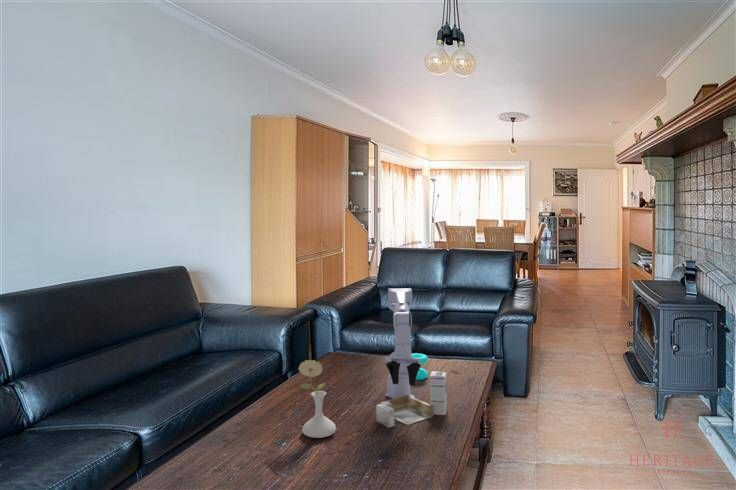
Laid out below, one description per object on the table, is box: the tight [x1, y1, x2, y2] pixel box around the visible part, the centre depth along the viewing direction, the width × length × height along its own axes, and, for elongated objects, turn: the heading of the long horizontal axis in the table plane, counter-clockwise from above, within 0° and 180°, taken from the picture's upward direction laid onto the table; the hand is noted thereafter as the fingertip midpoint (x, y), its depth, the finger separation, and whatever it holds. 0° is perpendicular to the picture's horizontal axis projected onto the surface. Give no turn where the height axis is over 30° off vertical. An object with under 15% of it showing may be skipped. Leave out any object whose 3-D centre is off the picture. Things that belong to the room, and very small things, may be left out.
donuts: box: [411, 352, 429, 381], centre depth 221 cm, size 10×10×10 cm
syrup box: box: [429, 370, 448, 416], centre depth 181 cm, size 6×6×14 cm
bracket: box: [375, 402, 396, 429], centre depth 172 cm, size 7×5×6 cm
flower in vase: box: [297, 359, 337, 439], centre depth 163 cm, size 13×11×25 cm
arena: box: [379, 395, 434, 427], centre depth 178 cm, size 15×13×4 cm
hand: (403, 384), depth 170 cm, fingers open, 7 cm apart
